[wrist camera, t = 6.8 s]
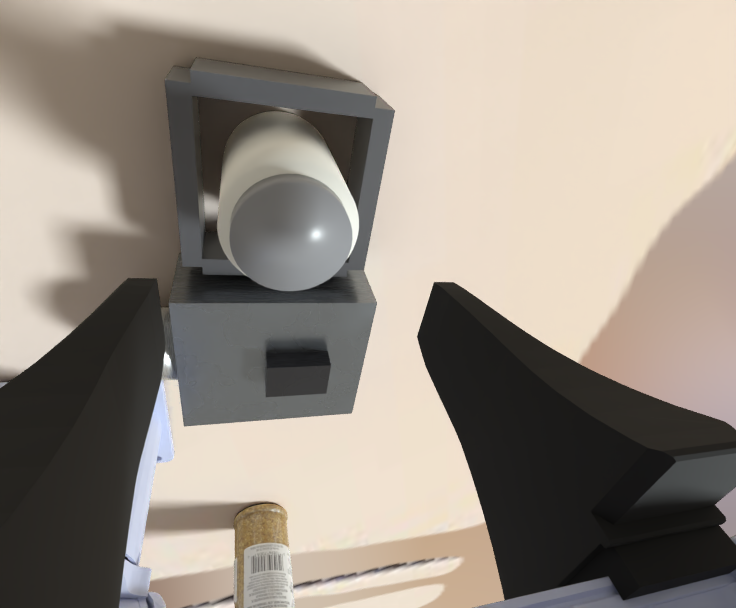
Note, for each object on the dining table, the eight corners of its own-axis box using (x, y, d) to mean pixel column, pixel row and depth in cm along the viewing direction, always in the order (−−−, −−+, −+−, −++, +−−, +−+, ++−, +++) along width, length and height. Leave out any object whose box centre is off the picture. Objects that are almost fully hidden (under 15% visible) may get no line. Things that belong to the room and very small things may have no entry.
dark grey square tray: (190, 263, 21) (185, 293, 19) (172, 53, 16) (163, 65, 14) (349, 267, 23) (359, 293, 21) (380, 85, 18) (396, 99, 16)
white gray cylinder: (222, 212, 20) (216, 299, 15) (222, 102, 17) (215, 161, 12) (324, 219, 21) (351, 301, 16) (338, 119, 19) (376, 179, 13)
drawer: (153, 372, 25) (137, 446, 21) (132, 252, 20) (107, 319, 16) (339, 364, 28) (355, 427, 24) (358, 258, 23) (382, 316, 19)
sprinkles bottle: (224, 526, 37) (218, 744, 26) (248, 498, 35) (252, 719, 25) (272, 530, 39) (284, 732, 29) (297, 504, 37) (319, 708, 27)
